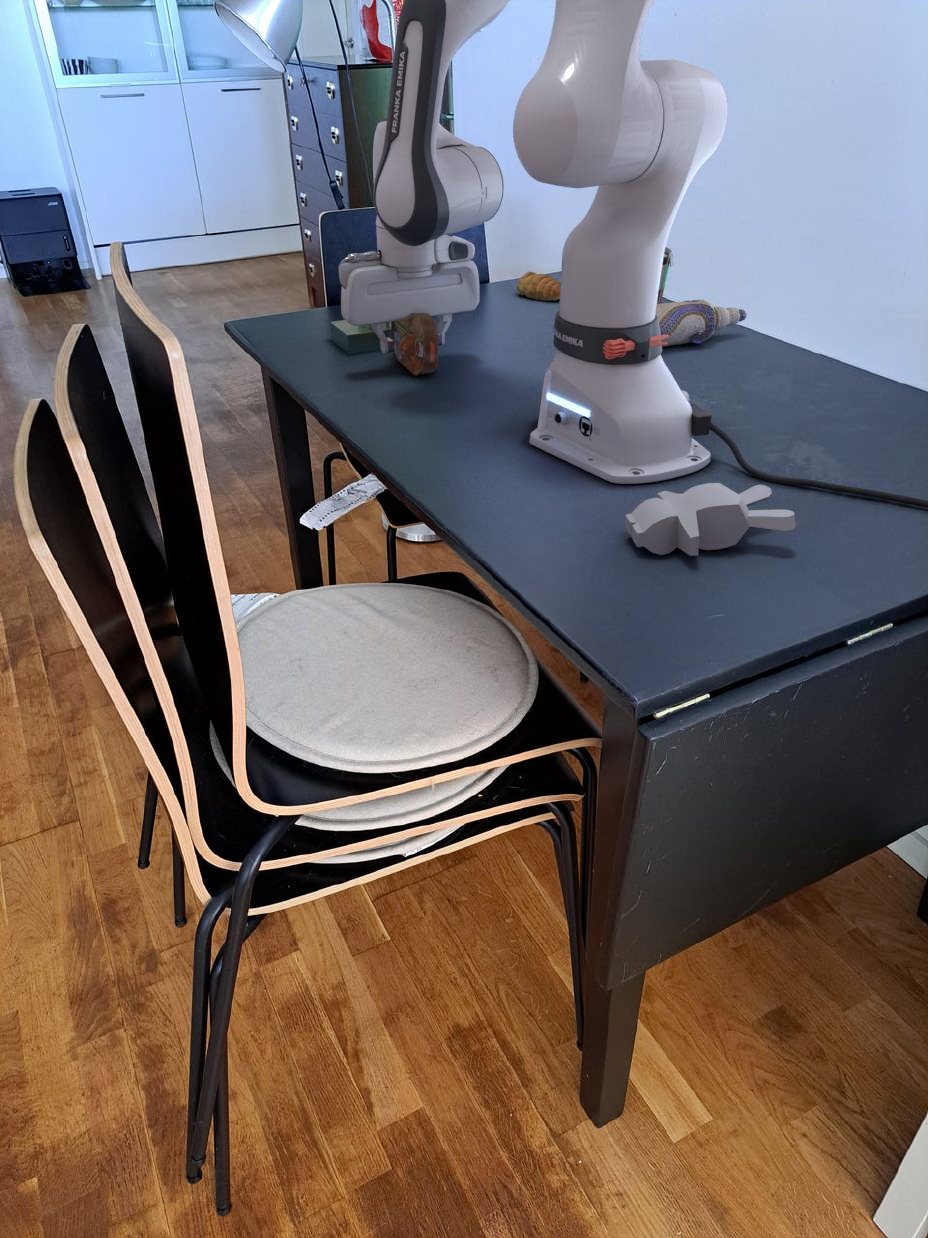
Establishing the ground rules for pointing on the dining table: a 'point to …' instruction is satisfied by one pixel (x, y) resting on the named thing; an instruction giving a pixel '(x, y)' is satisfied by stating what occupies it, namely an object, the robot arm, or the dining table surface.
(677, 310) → the decorative bottle
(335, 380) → the dining table surface
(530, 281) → the pastry
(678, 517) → the bunny figurine
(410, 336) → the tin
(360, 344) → the console
